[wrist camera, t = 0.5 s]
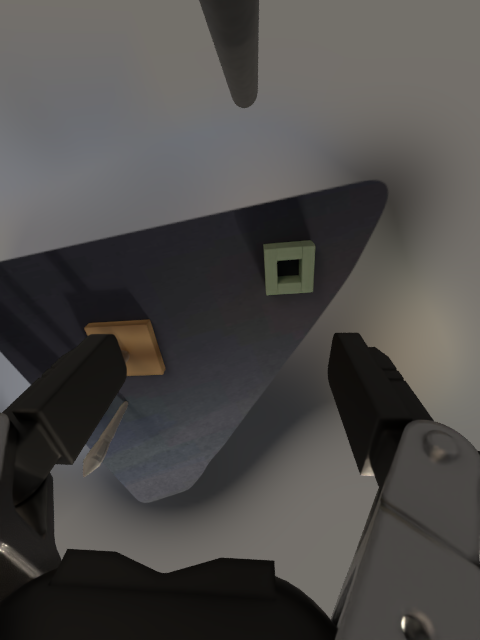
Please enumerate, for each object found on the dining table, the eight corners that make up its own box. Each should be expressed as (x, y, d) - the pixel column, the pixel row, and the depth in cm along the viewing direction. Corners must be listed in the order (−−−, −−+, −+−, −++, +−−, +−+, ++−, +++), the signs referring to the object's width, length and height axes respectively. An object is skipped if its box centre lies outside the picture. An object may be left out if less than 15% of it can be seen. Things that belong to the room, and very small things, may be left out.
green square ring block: (263, 244, 32) (263, 249, 30) (311, 239, 32) (315, 245, 30) (265, 287, 35) (266, 295, 33) (309, 284, 35) (313, 292, 33)
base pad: (89, 322, 40) (62, 347, 35) (149, 319, 39) (132, 344, 34) (111, 370, 45) (91, 399, 40) (165, 368, 44) (152, 397, 39)
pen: (116, 401, 49) (71, 476, 37) (125, 395, 48) (81, 470, 36) (127, 408, 50) (86, 483, 38) (135, 402, 49) (96, 478, 37)
